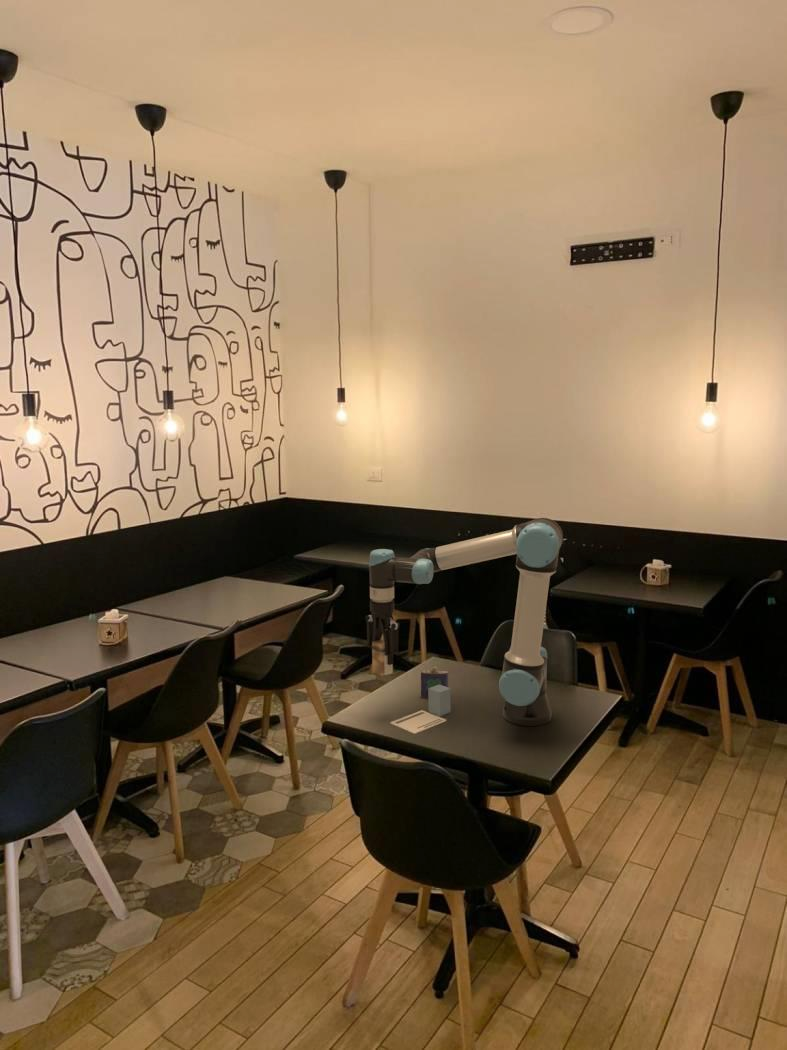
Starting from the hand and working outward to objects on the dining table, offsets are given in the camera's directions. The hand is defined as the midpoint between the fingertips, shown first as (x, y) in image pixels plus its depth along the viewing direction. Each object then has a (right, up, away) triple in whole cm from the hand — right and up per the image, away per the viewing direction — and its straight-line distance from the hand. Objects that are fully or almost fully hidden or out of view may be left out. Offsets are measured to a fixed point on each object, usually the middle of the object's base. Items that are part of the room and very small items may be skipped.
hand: (382, 671), depth 248 cm
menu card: (+11, -16, -1) cm, 19 cm away
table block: (0, 0, 0) cm, 0 cm away
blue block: (+18, -14, +7) cm, 24 cm away
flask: (+17, -12, +19) cm, 29 cm away
